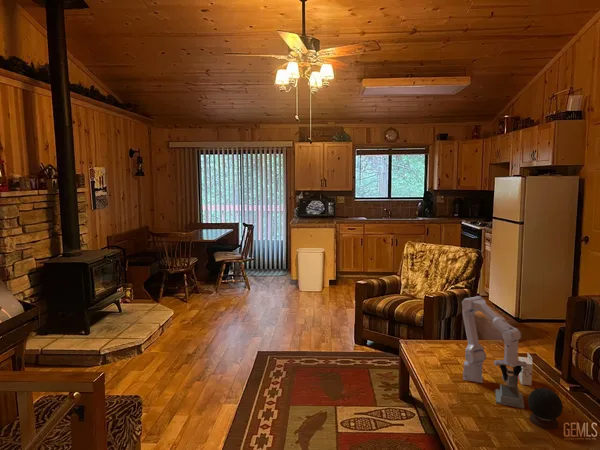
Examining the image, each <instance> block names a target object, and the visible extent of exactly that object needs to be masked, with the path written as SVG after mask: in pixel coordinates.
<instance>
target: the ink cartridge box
mask: <svg viewBox="0 0 600 450" xmlns="http://www.w3.org/2000/svg"><path fill="white" fill-rule="evenodd" d="M517 361H522V362H526V363H527V367H523V366H521V368H522V371H521V372H520V373H519V375H518V382H519V383H520V384H521V385H522V386H533V385H532V384H533V383H532V382H533V381H532V379H533V366H534V365H533V364H534V363H533V362H534V361H533V357H532V356H531V355H530V354H529V352H527V357H524V356H517Z"/></svg>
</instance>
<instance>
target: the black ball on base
mask: <svg viewBox="0 0 600 450" xmlns="http://www.w3.org/2000/svg"><path fill="white" fill-rule="evenodd" d="M527 401H528V402H527V403H528V404H527V405H528V408H529V409H530V412H532V413H531V414H530V415H529V421H530V422H531V424H533V426H536V427H538V428H541V429H545V430H552V431H553V430H557V429H558V428H559V426H560V423H559V421H558V420H557V419H558V418H559V417H560V416H561V415H562V412H563V409H564V406H563V405H564V404H563V402H562V399H561V397H560V396H559V395H558V394H557V393H556V392H555V391H554V390H551V389H549V388H547V387H538V388H535V389H533V390H532V391H531V392H530V393H529V395H528V398H527Z"/></svg>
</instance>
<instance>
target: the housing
mask: <svg viewBox="0 0 600 450" xmlns="http://www.w3.org/2000/svg"><path fill="white" fill-rule="evenodd" d="M506 368H507V369H508V370H507V374H506V381H505V380H504V379H503V374H501V375H502V376H501V378H502V380H503V381H504V383H505V385H507V386H508V387H518V383H519V379H518V376H517V375H516V374H515V372H514V371H513V368H512V367H506Z"/></svg>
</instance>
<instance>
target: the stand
mask: <svg viewBox="0 0 600 450" xmlns="http://www.w3.org/2000/svg"><path fill="white" fill-rule="evenodd" d="M494 392H495V404H498V405H503V406H509V407H513V408H519V409H525V402H524V396H523V393H521V392H520V391H519V387H518V386H517V387H508V386H507V384H499V389H498V388H495V390H494Z"/></svg>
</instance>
